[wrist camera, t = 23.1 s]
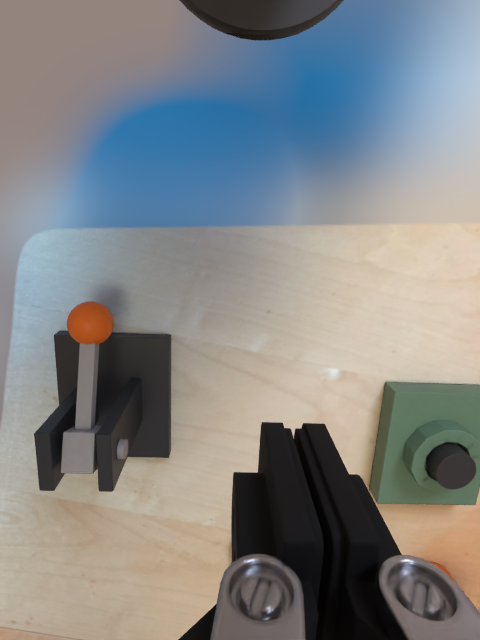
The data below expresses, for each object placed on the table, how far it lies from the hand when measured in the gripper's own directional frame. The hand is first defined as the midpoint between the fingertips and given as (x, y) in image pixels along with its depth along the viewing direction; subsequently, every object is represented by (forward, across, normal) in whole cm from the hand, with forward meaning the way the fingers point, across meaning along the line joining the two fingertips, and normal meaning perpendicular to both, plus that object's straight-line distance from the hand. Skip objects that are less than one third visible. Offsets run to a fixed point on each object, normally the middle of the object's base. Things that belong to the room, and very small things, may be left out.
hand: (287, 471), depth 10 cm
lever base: (+25, +12, +10) cm, 29 cm away
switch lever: (+19, +12, +6) cm, 23 cm away
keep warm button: (+21, -19, +14) cm, 32 cm away
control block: (+25, -19, +14) cm, 34 cm away
